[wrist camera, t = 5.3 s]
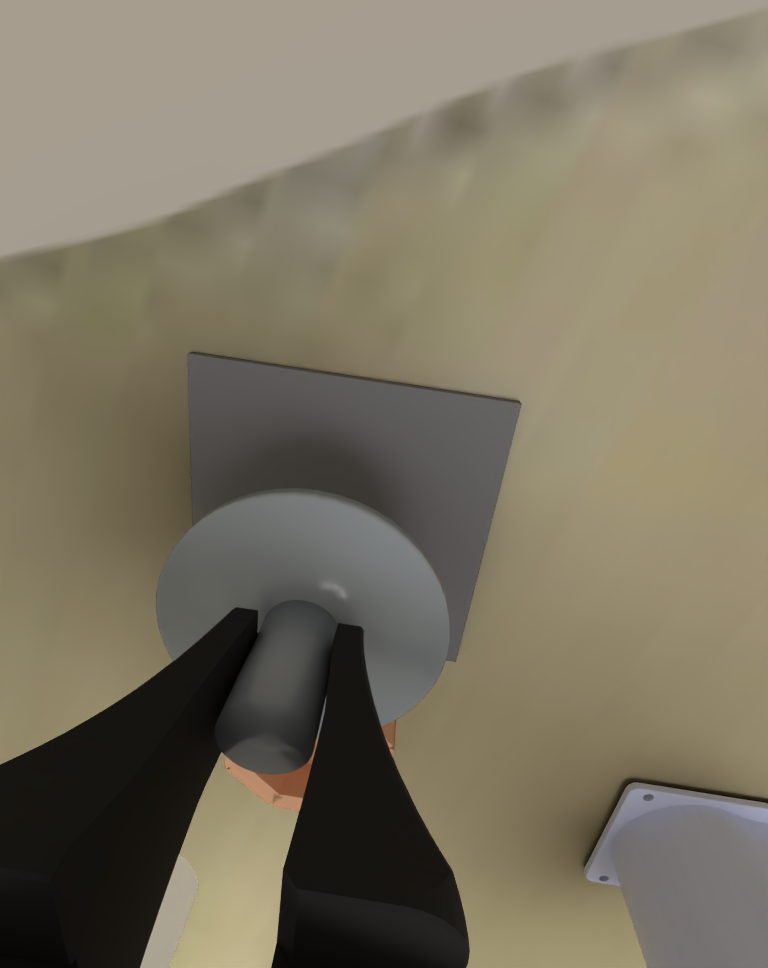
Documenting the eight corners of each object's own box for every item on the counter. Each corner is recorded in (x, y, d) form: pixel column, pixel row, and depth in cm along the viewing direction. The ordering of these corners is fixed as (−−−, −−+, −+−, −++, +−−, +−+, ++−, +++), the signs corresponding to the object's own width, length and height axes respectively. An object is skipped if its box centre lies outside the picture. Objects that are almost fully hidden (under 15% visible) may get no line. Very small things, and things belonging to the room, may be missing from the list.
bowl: (403, 667, 23) (401, 711, 20) (382, 775, 26) (378, 823, 23) (245, 642, 23) (225, 683, 20) (242, 752, 26) (225, 799, 23)
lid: (476, 514, 12) (500, 614, 9) (421, 740, 16) (422, 884, 12) (159, 465, 13) (48, 542, 9) (171, 700, 16) (93, 830, 12)
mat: (519, 401, 17) (521, 403, 17) (455, 655, 22) (455, 662, 22) (192, 352, 17) (187, 353, 17) (199, 615, 22) (195, 620, 22)
